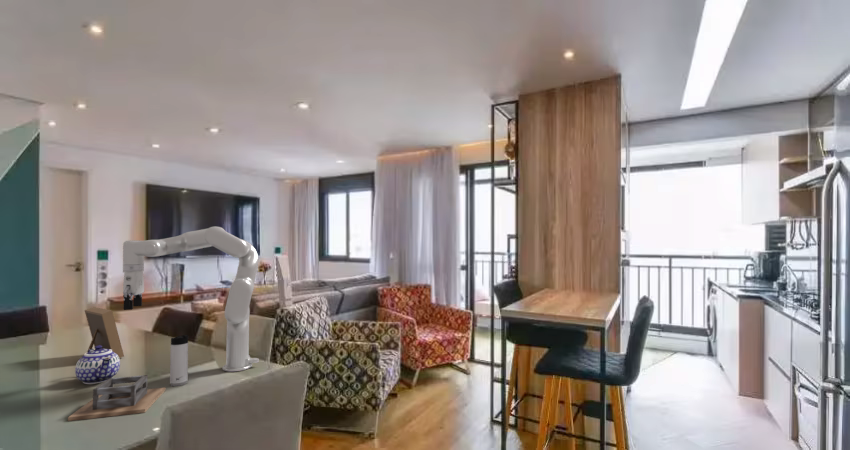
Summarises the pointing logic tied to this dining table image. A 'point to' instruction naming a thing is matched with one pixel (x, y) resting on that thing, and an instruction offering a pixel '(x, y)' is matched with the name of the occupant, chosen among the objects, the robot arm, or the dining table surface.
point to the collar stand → (119, 398)
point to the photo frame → (103, 330)
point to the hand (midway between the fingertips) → (133, 307)
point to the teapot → (97, 365)
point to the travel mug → (179, 361)
